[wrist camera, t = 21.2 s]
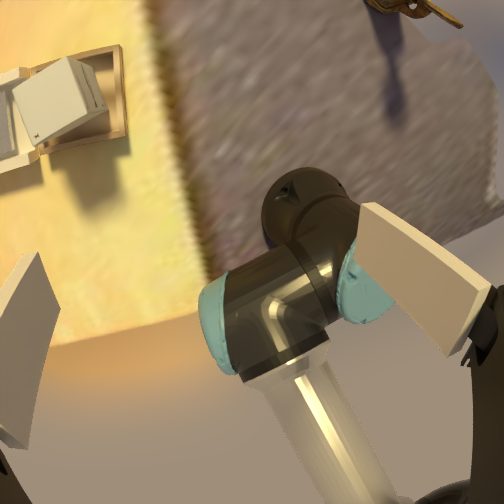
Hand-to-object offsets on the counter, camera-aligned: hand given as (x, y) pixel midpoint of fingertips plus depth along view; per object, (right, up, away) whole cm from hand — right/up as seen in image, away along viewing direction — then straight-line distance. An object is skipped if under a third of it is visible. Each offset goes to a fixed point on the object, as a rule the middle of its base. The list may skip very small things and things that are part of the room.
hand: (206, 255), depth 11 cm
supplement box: (-22, +21, +22) cm, 37 cm away
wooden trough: (-22, +21, +22) cm, 38 cm away
